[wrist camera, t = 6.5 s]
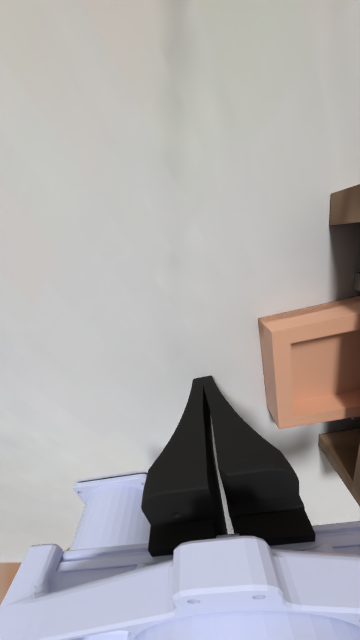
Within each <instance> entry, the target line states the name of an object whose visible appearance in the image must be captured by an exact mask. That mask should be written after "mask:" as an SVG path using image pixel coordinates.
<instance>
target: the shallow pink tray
mask: <svg viewBox="0 0 360 640" xmlns="http://www.w3.org/2000/svg"><path fill="white" fill-rule="evenodd" d="M258 323H259V333H260V342H261V352H262V362H263V371H264V381H265V391H266V400H267V407H268V409H269V411H270V413H271V415H272V417H273V419H274V421H275V422H276V424H277V426H278V428H279V429H283V428H289V427H295V426H302V425H308V424H314V423H320V422H327V421H333V420H339V419H345V418H352V417H358V416H360V296H356V297H352V298H348V299H343V300H339V301H334V302H330V303H325V304H321V305H316V306H312V307H307V308H303V309H298V310H294V311H289V312H285V313H281V314H276V315H272V316H267V317H263V318H258Z"/></svg>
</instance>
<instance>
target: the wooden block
mask: <svg viewBox="0 0 360 640" xmlns="http://www.w3.org/2000/svg"><path fill="white" fill-rule="evenodd" d="M355 222H360V184H359V185H356V186H353V187H350V188H347V189H344V190H341V191H338V192H335V193H332V194H331V206H330V225H339V224H347V223H355ZM354 289H355V290H359V291H360V272H357V273H355V279H354ZM352 419H353V420H356V419H360V416H358V417H352ZM319 447H320V448H321V450H322V451H323V453H324V454H325V456H326V457H327V459H328V460H329V462H330V463H331V465H332V466H333V468H334V469H335V471H336V472H337V473H338V475H339V476H340V478H341V479H342V481H343V482H344V484H345V485H346V487H347V488H348V490H349V491H350V493H351V494H352V496H353V497H354V499H355V500H356V502H357V503H358V505H359V506H360V428H359V429H352V430H346V431H339V432H333V433H326V434H319Z"/></svg>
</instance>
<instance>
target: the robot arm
mask: <svg viewBox="0 0 360 640" xmlns="http://www.w3.org/2000/svg"><path fill="white" fill-rule="evenodd" d="M210 414H211V418H212V424H213V431H214V438H215V445H216V453H217V461H218V469H219V472H220V476H221V480H222V484H223V487H224V491H225V495H226V500H227V505H228V511H229V516H230V518H231V522H232V526H233V529H234V533H235V534H228V533H227V528H226V522H225V517H224V511H223V505H222V499H221V494H220V488H219V482H218V476H217V470H216V464H215V458H214V451H213V442H212V430H211V418H210ZM73 490H74V491H75V493H76V494H77V495H78V496H79V497H80V499H81V500H82V501H83V502H84V503H85V505H86V506H85V509H84V511H83V514H82V517H81V520H80V522H79V525H78V528H77V530H76V533H75V536H74V539H73V541H72V544H71V547H70V549H69V551H63V550H62V548H61V547H60V546H58V545H56V544H42V545H33V546H31V547H30V548H29V550H28V552H27V554H26V556H25V558H24V560H23V562H22V564H21V566H20V568H19V570H18V572H17V574H16V576H15V578H14V580H13V582H12V584H11V586H10V588H9V590H8V592H7V594H6V596H5V598H4V600H3V602H2V604H1V606H0V640H360V521H355V522H345V523H336V524H326V525H316V526H312V525H311V523H310V521H309V519H308V517H307V514H306V512H305V510H304V504H303V502H302V500H301V498H300V496H299V480H298V477H297V475H296V473H295V471H294V470H293V468H292V467H291V465H290V464H289V462H288V461H287V459H286V458H285V457H284V455H283V454H282V453H281V452H280V450H278V449H277V448H275V447H274V446H273V445H271V444H270V443H269V442H268V441H266V440H265V439H264V438H263V437H261V436H260V435H259V434H258V433H257V432H256V431H254V430H253V429H252V428H251V427H250V426H249V425H248V424H247V423H246V422H245V421H244V420H243V419H242V418H241V417H240V416H239V415H238V414H237V413H236V412H235V411H234V409H233V408H232V407H231V406H230V405H229V403H228V402H227V401H226V399H225V398H224V397H223V395H222V394H221V392H220V391H219V389H218V387H217V386H216V384H215V382H214V380H213V377H212V376H206V377H201V378H196V379H193V382H192V388H191V392H190V396H189V399H188V402H187V405H186V408H185V410H184V413H183V415H182V418H181V420H180V422H179V424H178V426H177V428H176V430H175V432H174V434H173V436H172V437H171V439H170V441H169V442H168V444H167V445H166V447H165V448H164V450H163V451H162V453H161V454H160V456H159V457H158V458H157V460H156V461H155V462H154V463H153V465H152V466H151V467H150V469H149V470H148V473H147V475H146V474H136V475H129V476H123V477H116V478H109V479H102V480H95V481H88V482H81V483H76V484H75V486H74V488H73Z"/></svg>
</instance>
